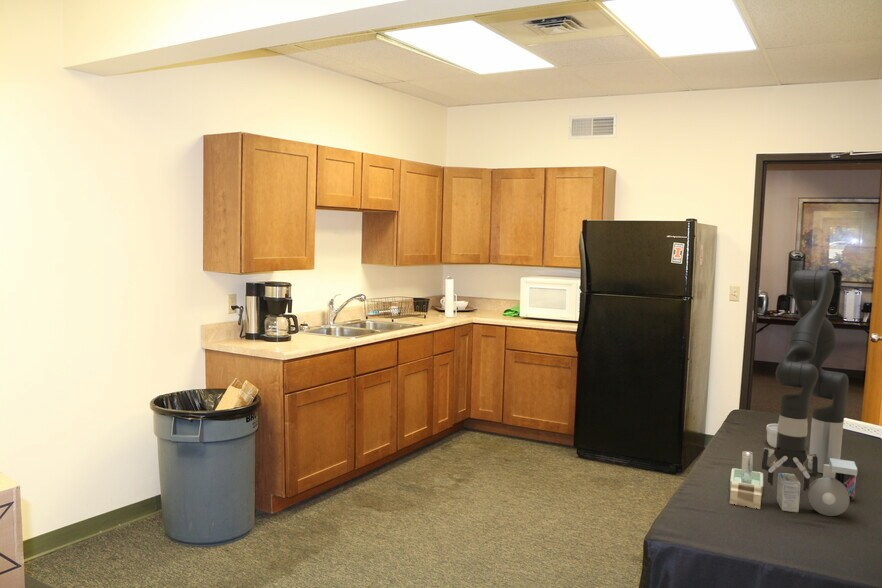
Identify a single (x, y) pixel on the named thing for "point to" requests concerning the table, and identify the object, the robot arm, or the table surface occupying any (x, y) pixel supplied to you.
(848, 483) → the supplement container
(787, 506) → the medicine box
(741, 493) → the wooden square frame
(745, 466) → the pin
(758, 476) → the tray
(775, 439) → the ramekin
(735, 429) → the table surface
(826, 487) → the trolley wheel
